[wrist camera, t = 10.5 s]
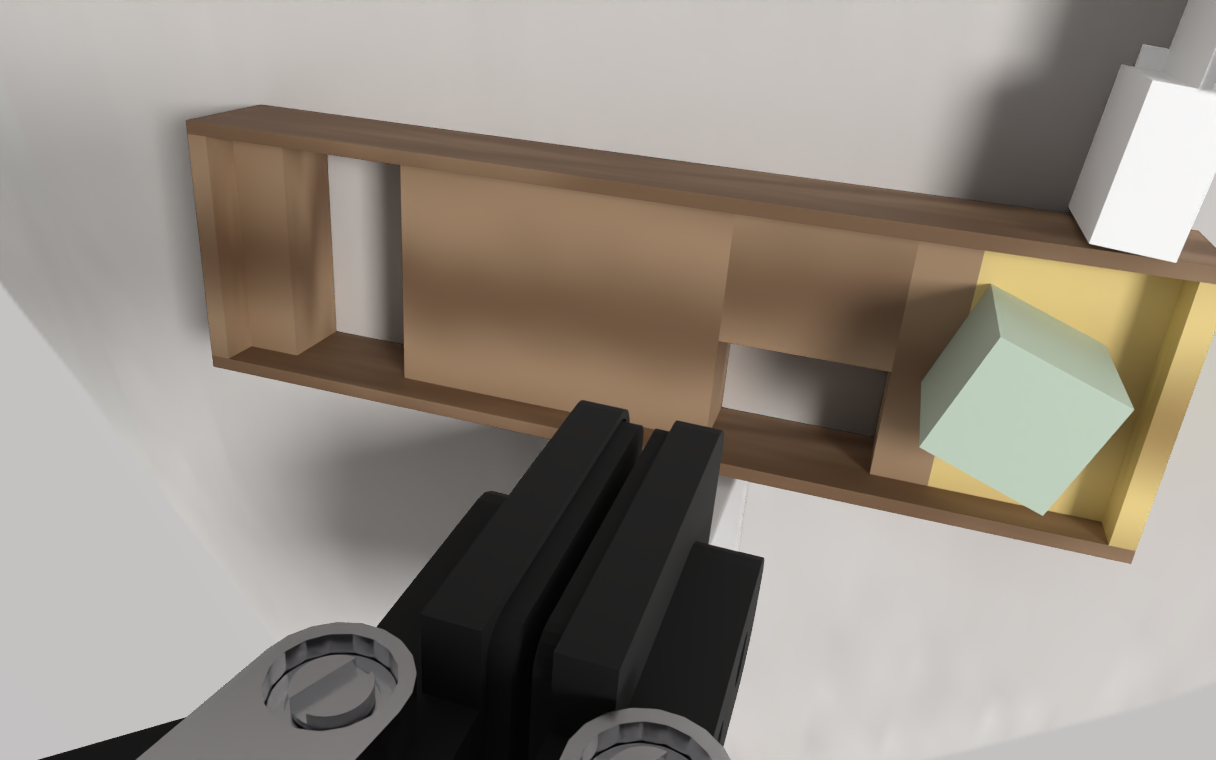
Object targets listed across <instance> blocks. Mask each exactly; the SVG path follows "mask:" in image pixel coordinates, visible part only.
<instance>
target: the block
mask: <svg viewBox="0 0 1216 760" xmlns="http://www.w3.org/2000/svg"><path fill="white" fill-rule="evenodd" d="M1133 411H1134V408H1133V405H1132V403H1131V401H1130V399H1129V397H1128V394H1127V392H1126V390H1125V388H1124V385H1123V383H1122V381H1121V379H1120V376H1119V374H1118V372H1117V370H1116V368H1115V365H1114V363H1113V361H1112V359H1111V356H1110V354H1109V352H1108V350H1107V348H1106V345H1104V344H1102V343H1101V342H1099V341H1097V340H1095V339H1093V338H1091V337H1089V336H1088V335H1086V334H1084V333H1082V332H1080V331H1078V330H1076V329H1075V328H1073V327H1071V326H1069V325H1067V324H1065V323H1063V322H1062V321H1060V320H1058V319H1056V318H1054V317H1052V316H1050V315H1049V314H1047V313H1045V312H1043V311H1041V310H1039V309H1037V308H1036V307H1034V306H1032V305H1030V304H1028V303H1026V302H1024V301H1023V300H1021V299H1019V298H1017V297H1015V296H1013V295H1011V294H1010V293H1008V292H1006V291H1004V290H1002V289H1000V288H998V287H997V286H995V285H993V284H991V285H990V286H989V287H988V289H987V290H986V292H985V293H984V294H983V296H982V297H981V299H980V300H979V301H978V303H977V304H976V306H975V307H974V308H973V310H972V311H971V313H970V314H969V315H968V317H967V318H966V320H965V321H964V322H963V324H962V325H961V327H960V328H959V330H958V331H957V332H956V334H955V335H954V337H953V338H952V339H951V341H950V342H949V344H948V345H947V346H946V348H945V349H944V351H943V352H942V353H941V355H940V356H939V358H938V359H937V360H936V362H935V363H934V365H933V366H932V367H931V369H930V370H929V372H928V373H927V375H926V376H925V377H924V379H923V380H922V382H921V406H920V437H919V447H920V448H922V449H924V450H925V451H927V452H929V453H931V454H932V455H934V456H936V457H938V458H940V459H941V460H943V461H945V462H947V463H949V464H950V465H952V466H954V467H956V468H958V469H959V470H961V471H963V472H965V473H967V474H968V475H970V476H972V477H974V478H976V479H977V480H979V481H981V482H983V483H984V484H986V485H988V486H990V487H992V488H993V489H995V490H997V491H999V492H1001V493H1002V494H1004V495H1006V496H1008V497H1010V498H1011V499H1013V500H1015V501H1017V502H1019V503H1020V504H1022V505H1024V506H1026V507H1027V508H1029V509H1031V510H1033V511H1035V512H1036V513H1038V514H1040V515H1042V516H1043V515H1044V514H1045V513H1046V512H1047V511H1048V509H1049V508H1050V507H1051V506H1052V505H1053V504H1054V502H1055V501H1056V500H1057V499H1058V498H1059V497H1060V495H1061V494H1062V493H1063V492H1064V491H1065V490H1066V489H1067V487H1068V486H1069V485H1070V484H1071V483H1072V482H1073V480H1074V479H1075V478H1076V477H1077V476H1078V475H1079V473H1080V472H1081V471H1082V470H1083V469H1084V468H1085V466H1086V465H1087V464H1088V463H1089V462H1090V461H1091V460H1092V458H1093V457H1094V456H1095V455H1096V454H1097V453H1098V451H1099V450H1100V449H1101V448H1102V447H1103V446H1104V444H1105V443H1106V442H1107V441H1108V440H1109V439H1110V437H1111V436H1112V435H1113V434H1114V433H1115V432H1116V431H1117V429H1118V428H1119V427H1120V426H1121V425H1122V424H1123V422H1124V421H1125V420H1126V419H1127V418H1128V417H1129V415H1130V414H1131V413H1132V412H1133Z"/></svg>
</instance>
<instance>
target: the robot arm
mask: <svg viewBox="0 0 1216 760" xmlns="http://www.w3.org/2000/svg"><path fill="white" fill-rule="evenodd" d="M643 437H644V430H643V426H642V425H638V424H634V423H630V417H629V412H628V410H627V409H623V408H618V407H613V406H609V405H604V404H600V403H595V402H590V401H586V400H581V401H579V402H578V403H577V405H576V406H575V407H574V409H573V410H572V411H571V413H570V414H569V415H568V417H567V418H566V419H565V421H564V422H563V423H562V425H561V426H560V427H559V429H558V430H557V431H556V433H555V434H554V436H553V437H552V438H551V440H550V441H549V442H548V444H547V445H546V446H545V448H544V449H543V450H542V452H541V453H540V454H539V456H538V457H537V458H536V460H535V461H534V462H533V464H532V465H531V466H530V468H529V469H528V470H527V472H526V473H525V474H524V476H523V477H522V478H521V480H520V481H519V482H518V484H517V485H516V487H515V488H514V489H513V491H512V492H511V493H510V495H506V494H502V493H498V492H494V491H489V492H485V493H484V494H483V495H482V496H481V497H480V498H479V499H478V500H477V501H476V502H475V504H474V505H473V506H472V507H471V509H470V510H469V511H468V512H467V514H466V515H465V516H464V517H463V519H462V520H461V521H460V522H459V524H458V525H457V526H456V527H455V529H454V530H453V531H452V533H451V534H450V535H449V536H448V538H447V539H446V540H445V541H444V543H443V544H442V545H441V546H440V548H439V549H438V550H437V551H436V553H435V554H434V555H433V556H432V558H431V559H430V560H429V562H428V563H427V564H426V565H425V567H424V568H423V569H422V570H421V572H420V573H419V574H418V575H417V577H416V578H415V579H414V580H413V582H412V583H411V584H410V585H409V587H408V588H407V589H406V591H405V592H404V593H403V594H402V596H401V597H400V598H399V599H398V601H397V602H396V603H395V604H394V606H393V607H392V608H391V609H390V611H389V612H388V613H387V614H386V616H385V617H384V618H383V620H382V621H381V622H380V623H379V625H378V626H377V627H373V626H370V625H366V624H363V623H345V622H336V623H330V624H323V625H317V626H312V627H309V628H307V629H304V630H301V631H299V632H296V633H293V634H291V635H288V636H287V637H285V638H283V639H282V640H280V641H279V642H277V643H276V644H274V645H273V646H271V647H270V648H268V649H267V650H266V651H264V652H263V653H262V654H261V655H260V656H259V657H257V658H256V659H255V660H254V661H253V662H251V663H250V664H249V665H248V666H247V667H245V668H244V669H243V670H242V671H241V672H239V673H238V674H237V675H236V676H235V677H234V678H232V679H231V680H230V681H229V682H228V683H226V684H225V685H224V686H223V687H222V688H220V689H219V690H218V691H217V692H216V693H215V694H213V695H212V696H211V697H210V698H209V699H207V700H206V701H205V702H204V703H203V704H201V705H200V706H199V707H198V708H197V709H196V710H194V711H193V712H192V713H191V714H190V715H188V716H187V717H185V718H182V719H179V720H175V721H172V722H168V723H165V724H161V725H158V726H154V727H151V728H148V729H144V730H140V731H137V732H133V733H130V734H126V735H123V736H119V737H116V738H112V739H109V740H105V741H102V742H98V743H95V744H92V745H88V746H85V747H81V748H78V749H74V750H71V751H67V752H64V753H60V754H57V755H53V756H50V757H46V758H43V759H39V760H730V758H729V756H728V754H727V753H726V751H725V749H724V747H723V746H724V742H725V738H726V734H727V730H728V727H729V723H730V719H731V715H732V711H733V708H734V704H735V700H736V696H737V692H738V688H739V684H740V680H741V676H742V672H743V668H744V664H745V659H746V655H747V650H748V646H749V641H750V636H751V631H752V627H753V622H754V616H755V611H756V606H757V600H758V595H759V590H760V584H761V578H762V573H763V566H764V558H763V557H759V556H755V555H751V554H746V553H742V552H738V551H734V550H730V549H726V548H722V547H718V546H714V545H710V544H709V538H710V531H711V524H712V517H713V511H714V504H715V497H716V491H717V484H718V477H719V471H720V464H721V457H722V451H723V443H724V430H720V429H715V428H711V427H706V426H701V425H697V424H692V423H688V422H683V421H678V420H676V421H675V423H674V424H673V426H672V428H671V430H670V431H666V430H661V429H655V430H654V431H653V433H652V435H651V436H650V438H649V440H648V442H647V444H646V445H645V447H644V449H643V451H642V447H643Z"/></svg>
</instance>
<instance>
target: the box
mask: <svg viewBox="0 0 1216 760" xmlns="http://www.w3.org/2000/svg"><path fill="white" fill-rule="evenodd" d="M186 126H187V135H188V144H189V152H190V161H191V170H192V179H193V188H194V197H195V206H196V215H197V224H198V233H199V242H200V251H201V260H202V269H203V278H204V286H205V295H206V304H207V313H208V322H209V331H210V340H211V349H212V358H213V366H214V367H218V368H223V369H228V370H232V371H237V372H242V373H246V374H251V375H256V376H260V377H265V378H270V379H274V380H279V381H283V382H288V383H293V384H297V385H302V386H307V387H311V388H316V389H321V390H325V391H330V392H335V393H339V394H344V395H349V396H353V397H358V398H362V399H367V400H372V401H376V402H381V403H386V404H390V405H395V406H400V407H404V408H409V409H414V410H418V411H423V412H428V413H432V414H437V415H441V416H446V417H451V418H455V419H460V420H465V421H469V422H474V423H479V424H483V425H488V426H493V427H497V428H502V429H506V430H511V431H516V432H520V433H525V434H530V435H534V436H539V437H544V438H548V439H551V438H552V437H553V436H554V434H555V433H556V431H557V430H558V429H559V427H560V426H561V425H562V423H563V422H564V421H565V419H566V418H567V417H568V415H569V414H570V413H571V411H572V410H573V409H574V407H575V406H576V405H577V403H578V402H579V401H581V400H586V401H590V402H595V403H600V404H604V405H609V406H613V407H618V408H623V409H627V410H628V412H629V417H630V423H634V424H638V425H642V426H643V430H644V437H643V447H642V451H643V449H644V447H645V445H646V444H647V442H648V440H649V438H650V436H651V435H652V433H653V431H654V430H655V429H661V430H666V431H670V430H671V428H672V426H673V424H674V423H675V421H676V420H678V421H683V422H688V423H692V424H697V425H701V426H706V427H711V428H715V429H720V430H724V443H723V451H722V457H721V464H720V471H719V475H720V476H725V477H729V478H734V479H739V480H743V481H748V482H753V483H757V484H762V485H767V486H771V487H776V488H781V489H785V490H790V491H795V492H799V493H804V494H808V495H813V496H818V497H822V498H827V499H832V500H836V501H841V502H846V503H850V504H855V505H860V506H864V507H869V508H874V509H878V510H883V511H887V512H892V513H897V514H901V515H906V516H911V517H915V518H920V519H925V520H929V521H934V522H939V523H943V524H948V525H952V526H957V527H962V528H966V529H971V530H976V531H980V532H985V533H990V534H994V535H999V536H1004V537H1008V538H1013V539H1018V540H1022V541H1027V542H1031V543H1036V544H1041V545H1045V546H1050V547H1055V548H1059V549H1064V550H1069V551H1073V552H1078V553H1083V554H1087V555H1092V556H1097V557H1101V558H1106V559H1110V560H1115V561H1120V562H1124V563H1129V564H1131V562H1132V560H1133V557H1134V554H1135V551H1136V549H1137V546H1138V543H1139V540H1140V537H1141V535H1142V532H1143V529H1144V526H1145V524H1146V521H1147V518H1148V515H1149V513H1150V510H1151V507H1152V504H1153V502H1154V499H1155V496H1156V493H1157V490H1158V488H1159V485H1160V482H1161V479H1162V477H1163V474H1164V471H1165V468H1166V466H1167V463H1168V460H1169V457H1170V455H1171V452H1172V449H1173V446H1174V444H1175V441H1176V438H1177V435H1178V432H1179V430H1180V427H1181V424H1182V421H1183V419H1184V416H1185V413H1186V410H1187V408H1188V405H1189V402H1190V399H1191V397H1192V394H1193V391H1194V388H1195V386H1196V383H1197V380H1198V377H1199V374H1200V372H1201V369H1202V366H1203V363H1204V361H1205V358H1206V355H1207V352H1208V350H1209V347H1210V344H1211V341H1212V339H1213V336H1214V333H1215V330H1216V248H1215V247H1214V246H1213V245H1212V244H1211V243H1210V242H1209V241H1208V240H1207V239H1206V238H1205V237H1204V236H1203V235H1202V234H1201V233H1200V232H1199V231H1196V230H1190V232H1189V235H1188V237H1187V239H1186V242H1185V244H1184V246H1183V248H1182V251H1181V253H1180V255H1179V258H1178V260H1177V262H1176V263H1174V262H1169V261H1165V260H1160V259H1156V258H1151V257H1147V256H1142V255H1138V254H1133V253H1129V252H1124V251H1120V250H1115V249H1111V248H1106V247H1102V246H1097V245H1093V244H1089V243H1088V241H1087V239H1086V237H1085V236H1084V234H1083V232H1082V230H1081V228H1080V227H1079V225H1078V223H1077V221H1076V219H1075V218H1074V216H1073V214H1070V213H1062V212H1055V211H1048V210H1040V209H1033V208H1025V207H1018V206H1010V205H1003V204H996V203H988V202H981V201H973V200H966V199H958V198H951V197H943V196H936V195H929V194H921V193H914V192H906V191H899V190H891V189H884V188H877V187H869V186H862V185H854V184H847V183H839V182H832V181H825V180H817V179H810V178H802V177H795V176H787V175H780V174H772V173H765V172H758V171H750V170H743V169H735V168H728V167H720V166H713V165H706V164H698V163H691V162H683V161H676V160H668V159H661V158H654V157H646V156H639V155H631V154H624V153H616V152H609V151H601V150H594V149H587V148H579V147H572V146H564V145H557V144H549V143H542V142H535V141H527V140H520V139H512V138H505V137H497V136H490V135H483V134H475V133H468V132H460V131H453V130H445V129H438V128H430V127H423V126H416V125H408V124H401V123H393V122H386V121H378V120H371V119H364V118H356V117H349V116H341V115H334V114H326V113H319V112H312V111H304V110H297V109H289V108H282V107H274V106H267V105H257V106H252V107H247V108H243V109H238V110H233V111H228V112H223V113H218V114H213V115H209V116H204V117H199V118H194V119H189V120H186ZM327 154H328V155H335V156H342V157H349V158H356V159H362V160H369V161H376V162H383V163H390V164H397V165H400V178H401V226H402V275H403V324H404V345H403V344H398V343H393V342H388V341H382V340H377V339H372V338H367V337H362V336H357V335H352V334H347V333H342V332H337V331H336V315H335V296H334V276H333V257H332V238H331V219H330V200H329V181H328V162H327ZM991 284H993V285H995V286H997V287H998V288H1000V289H1002V290H1004V291H1006V292H1008V293H1010V294H1011V295H1013V296H1015V297H1017V298H1019V299H1021V300H1023V301H1024V302H1026V303H1028V304H1030V305H1032V306H1034V307H1036V308H1037V309H1039V310H1041V311H1043V312H1045V313H1047V314H1049V315H1050V316H1052V317H1054V318H1056V319H1058V320H1060V321H1062V322H1063V323H1065V324H1067V325H1069V326H1071V327H1073V328H1075V329H1076V330H1078V331H1080V332H1082V333H1084V334H1086V335H1088V336H1089V337H1091V338H1093V339H1095V340H1097V341H1099V342H1101V343H1102V344H1104V345H1106V348H1107V350H1108V352H1109V354H1110V356H1111V359H1112V361H1113V363H1114V365H1115V368H1116V370H1117V372H1118V374H1119V376H1120V379H1121V381H1122V383H1123V385H1124V388H1125V390H1126V392H1127V394H1128V397H1129V399H1130V401H1131V403H1132V405H1133V408H1134V411H1133V412H1132V413H1131V414H1130V415H1129V417H1128V418H1127V419H1126V420H1125V421H1124V422H1123V424H1122V425H1121V426H1120V427H1119V428H1118V429H1117V431H1116V432H1115V433H1114V434H1113V435H1112V436H1111V437H1110V439H1109V440H1108V441H1107V442H1106V443H1105V444H1104V446H1103V447H1102V448H1101V449H1100V450H1099V451H1098V453H1097V454H1096V455H1095V456H1094V457H1093V458H1092V460H1091V461H1090V462H1089V463H1088V464H1087V465H1086V466H1085V468H1084V469H1083V470H1082V471H1081V472H1080V473H1079V475H1078V476H1077V477H1076V478H1075V479H1074V480H1073V482H1072V483H1071V484H1070V485H1069V486H1068V487H1067V489H1066V490H1065V491H1064V492H1063V493H1062V494H1061V495H1060V497H1059V498H1058V499H1057V500H1056V501H1055V502H1054V504H1053V505H1052V506H1051V507H1050V508H1049V509H1048V511H1047V512H1046V513H1045V514H1044V515H1043V516H1042V515H1040V514H1038V513H1036V512H1035V511H1033V510H1031V509H1029V508H1027V507H1026V506H1024V505H1022V504H1020V503H1019V502H1017V501H1015V500H1013V499H1011V498H1010V497H1008V496H1006V495H1004V494H1002V493H1001V492H999V491H997V490H995V489H993V488H992V487H990V486H988V485H986V484H984V483H983V482H981V481H979V480H977V479H976V478H974V477H972V476H970V475H968V474H967V473H965V472H963V471H961V470H959V469H958V468H956V467H954V466H952V465H950V464H949V463H947V462H945V461H943V460H941V459H940V458H938V457H936V456H934V455H932V454H931V453H929V452H927V451H925V450H924V449H922V448H920V447H919V437H920V406H921V382H922V380H923V379H924V377H925V376H926V375H927V373H928V372H929V370H930V369H931V367H932V366H933V365H934V363H935V362H936V360H937V359H938V358H939V356H940V355H941V353H942V352H943V351H944V349H945V348H946V346H947V345H948V344H949V342H950V341H951V339H952V338H953V337H954V335H955V334H956V332H957V331H958V330H959V328H960V327H961V325H962V324H963V322H964V321H965V320H966V318H967V317H968V315H969V314H970V313H971V311H972V310H973V308H974V307H975V306H976V304H977V303H978V301H979V300H980V299H981V297H982V296H983V294H984V293H985V292H986V290H987V289H988V287H989V286H990V285H991ZM730 343H732V344H738V345H743V346H749V347H754V348H760V349H765V350H771V351H777V352H782V353H788V354H793V355H799V356H804V357H810V358H815V359H821V360H827V361H832V362H838V363H843V364H849V365H854V366H860V367H865V368H871V369H876V370H882V371H888V375H887V380H886V385H885V390H884V394H883V399H882V404H881V408H880V413H879V418H878V423H877V427H876V432H875V437H869V436H864V435H859V434H854V433H849V432H844V431H838V430H833V429H828V428H823V427H818V426H813V425H808V424H803V423H798V422H793V421H788V420H783V419H778V418H773V417H768V416H762V415H757V414H752V413H747V412H742V411H737V410H732V409H727V408H722V401H723V393H724V386H725V378H726V371H727V364H728V356H729V349H730Z"/></svg>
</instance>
